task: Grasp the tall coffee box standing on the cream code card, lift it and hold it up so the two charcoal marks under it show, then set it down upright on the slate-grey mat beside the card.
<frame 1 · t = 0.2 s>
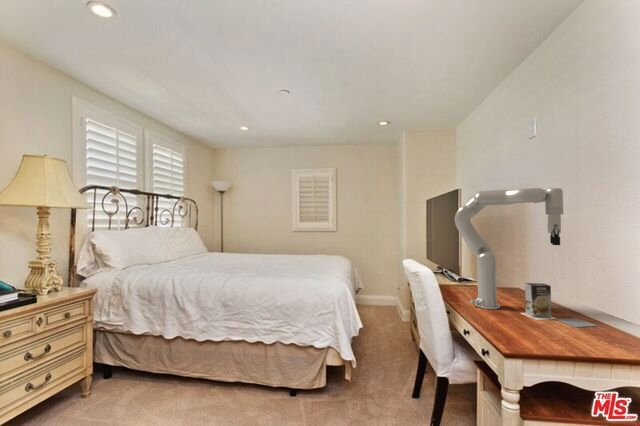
hand: (555, 244, 161), 36 cm above the table, tool pointing down, fingers open, 9 cm apart
coffee box: (538, 316, 158), resting on code card
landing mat: (575, 323, 147), on the table
code card: (538, 316, 158), on the table
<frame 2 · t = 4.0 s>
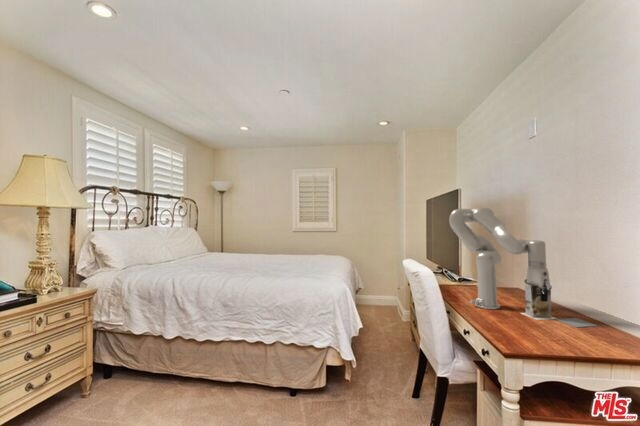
hand: (537, 298, 158), 9 cm above the table, tool pointing down, fingers closed on coffee box, 7 cm apart
coffee box: (538, 316, 158), resting on code card, touching gripper
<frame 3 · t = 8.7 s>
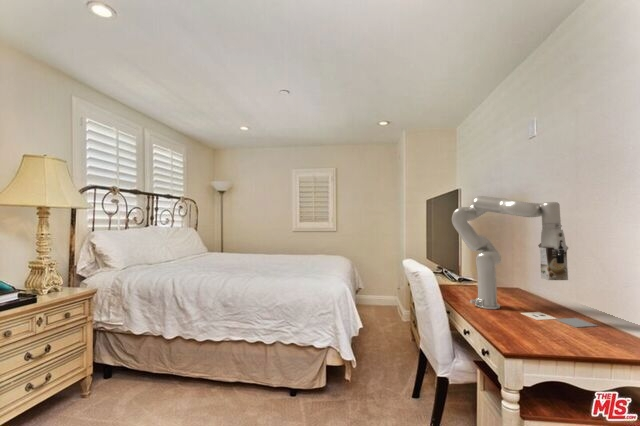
hand: (553, 262, 154), 28 cm above the table, tool pointing down, fingers closed on coffee box, 7 cm apart
coffee box: (554, 279, 153), point 20 cm above the table, touching gripper
when the fingers open (11 cm above the table, at t = 13.5 s): coffee box drops 2 cm, resting on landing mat.
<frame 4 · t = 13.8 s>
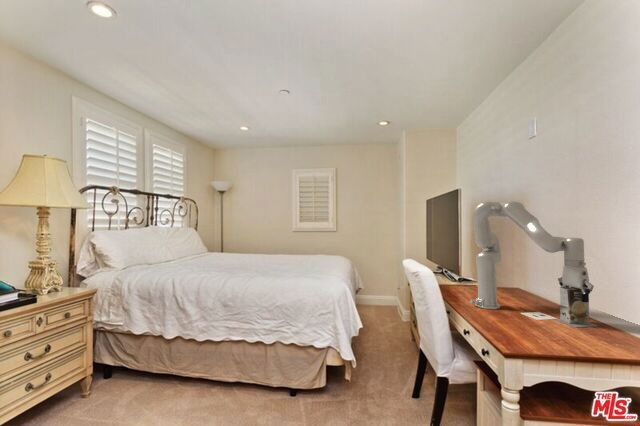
hand: (575, 299, 147), 11 cm above the table, tool pointing down, fingers open, 9 cm apart
coffee box: (574, 322, 148), resting on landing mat
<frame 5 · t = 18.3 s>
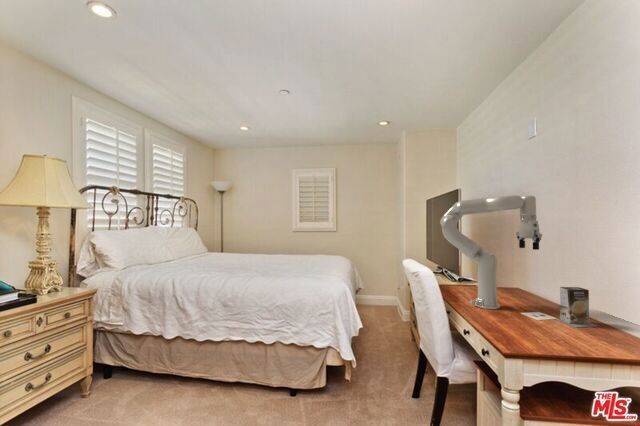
hand: (528, 248, 171), 33 cm above the table, tool pointing down, fingers open, 9 cm apart
nothing on the table moved.
at the end: coffee box 0.5 cm off-centre on the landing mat, point 0.2 cm above the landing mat's base; coffee box tilted 0°; the gripper is holding nothing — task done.
